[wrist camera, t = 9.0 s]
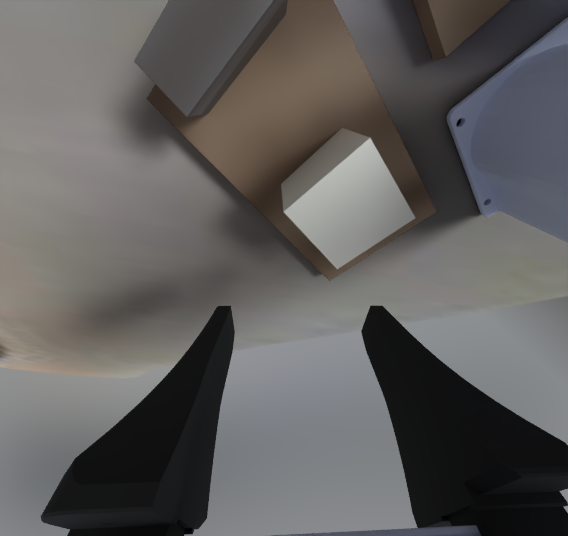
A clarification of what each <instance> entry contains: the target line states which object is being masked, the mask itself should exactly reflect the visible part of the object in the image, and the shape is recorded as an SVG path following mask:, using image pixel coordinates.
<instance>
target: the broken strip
mask: <svg viewBox="0 0 568 536" xmlns="http://www.w3.org/2000/svg"><path fill="white" fill-rule="evenodd" d="M412 1H413V4H414V7H415V10H416V13H417V16H418V19H419V21H420V24H421V27H422V30H423V33H424V36H425V38H426V41H427V44H428V47H429V50H430V53H431V56H432V58H433V61H434V60H437V59H441V58H445V57H447V56H448V55H449V54H450V53H451V52H452V51H453V50H455V49H456V48H457V47H458V46H459V45H460V44H461V43H463V42H464V41H465V40H466V39H467V38H468V37H469V36H471V35H472V34H473V33H474V32H475V31H476V30H477V29H478V28H480V27H481V26H482V25H483V24H484V23H485V22H486V21H488V20H489V19H490V18H491V17H492V16H493V15H494V14H495V13H497V12H498V11H499V10H500V9H501V8H502V7H503V6H505V5H506V4H507V3H508V2H509V1H510V0H412Z"/></svg>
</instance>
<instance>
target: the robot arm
mask: <svg viewBox="0 0 568 536" xmlns="http://www.w3.org/2000/svg"><path fill="white" fill-rule="evenodd" d="M460 118H461V122H460V124H459V125H458V126H456V123H457V121H458V120H459V119H460ZM447 123H448V126H449V128H450V131H451V134H452V137H453V139H454V142H455V145H456V147H457V150H458V153H459V156H460V158H461V161H462V164H463V166H464V169H465V172H466V175H467V177H468V180H469V183H470V185H471V188H472V191H473V194H474V196H475V199H476V202H477V205H478V207H479V210H480V213H481V214H482V215H483V216H486V217H488V216H491V215H493V214H495V213H496V212H498V211H502V212H504V213H506V214H508V215H511V216H513V217H515V218H517V219H519V220H521V221H523V222H525V223H527V224H530V225H532V226H534V227H536V228H538V229H540V230H542V231H544V232H547V233H549V234H551V235H553V236H555V237H557V238H559V239H561V240H563V241H566V242H568V17H567V18H566V19H564V20H563V21H562V22H561V23H559V24H558V25H557V26H556V27H554V28H553V29H552V30H551V31H549V32H548V33H547V34H545V35H544V36H543V37H542V38H540V39H539V40H538V41H537V42H535V43H534V44H533V45H532V46H530V47H529V48H528V49H527V50H525V51H524V52H523V53H521V54H520V55H519V56H518V57H516V58H515V59H514V60H513V61H511V62H510V63H509V64H508V65H506V66H505V67H504V68H503V69H501V70H500V71H499V72H497V73H496V74H495V75H494V76H492V77H491V78H490V79H489V80H487V81H486V82H485V83H484V84H482V85H481V86H480V87H479V88H477V89H476V90H475V91H473V92H472V93H471V94H470V95H468V96H467V97H466V98H465V99H463V100H462V101H461V102H460V103H458V104H457V105H456V106H454V107H453V108H452V109H451V110H450V111H449V113H448V115H447ZM486 200H487V201H486ZM485 201H486V202H485ZM484 202H485V203H484ZM361 332H362V336H363V340H364V344H365V348H366V351H367V354H368V356H369V359H370V362H371V364H372V367H373V369H374V372H375V374H376V377H377V379H378V382H379V385H380V387H381V390H382V392H383V395H384V398H385V401H386V404H387V407H388V411H389V414H390V418H391V421H392V424H393V428H394V432H395V436H396V440H397V444H398V447H399V451H400V456H401V460H402V464H403V468H404V473H405V478H406V482H407V487H408V492H409V497H410V501H411V507H412V512H413V515H414V518H415V521H416V524H417V527H418V528H411V529H392V530H372V531H352V532H332V533H312V534H294V535H293V534H292V535H273V536H568V513H567V512H566V510H565V509H564V507H563V506H567V505H568V503H567V501H566V500H565V499H564V497H563V496H562V494H561V493H560V492H559V491H561V490H564V489H568V445H567V444H566V443H565V442H563V441H561V440H560V439H558V438H556V437H554V436H553V435H551V434H549V433H547V432H546V431H544V430H542V429H540V428H539V427H537V426H535V425H534V424H532V423H530V422H528V421H526V420H525V419H523V418H522V417H520V416H518V415H516V414H515V413H514V412H512V411H510V410H509V409H507V408H505V407H504V406H502V405H501V404H499V403H498V402H496V401H495V400H493V399H492V398H490V397H489V396H487V395H486V394H484V393H483V392H481V391H480V390H479V389H477V388H476V387H474V386H473V385H471V384H470V383H469V382H467V381H466V380H464V379H463V378H462V377H460V376H459V375H458V374H457V373H455V372H454V371H453V370H452V369H450V368H449V367H448V366H447V365H445V364H444V363H443V362H442V361H440V360H439V359H438V358H437V357H436V356H435V355H433V354H432V353H431V352H430V351H429V350H428V349H426V348H425V347H424V346H423V345H422V344H421V343H420V342H419V341H417V339H416V338H414V337H413V336H412V335H411V334H410V333H409V332H408V331H407V330H406V329H405V328H404V327H403V326H402V325H401V324H400V323H399V322H398V321H397V320H396V319H395V318H394V317H393V316H392V315H391V314H390V313H389V312H388V311H387V310H386V309H385V308H384V307H383V306H370V309H369V312H368V314H367V317H366V320H365V323H364V325H363V328H362V331H361ZM234 333H235V331H234V325H233V318H232V311H231V306H218V307H217V308H216V310H215V311H214V313H213V315H212V316H211V318H210V320H209V321H208V323H207V324H206V326H205V327H204V329H203V330H202V332H201V333H200V334H199V336H198V337H197V339H196V340H195V341H194V343H193V344H192V345H191V347H190V348H189V349H188V351H187V352H186V353H185V354H184V356H183V357H182V358H181V359H180V361H179V362H178V363H177V364H176V365H175V367H174V368H173V369H172V370H171V371H170V372H169V373H168V375H167V376H166V377H165V378H164V379H163V380H162V381H161V382H160V383H159V384H158V385H157V386H156V387H155V388H154V389H153V390H152V391H151V392H150V393H149V394H148V395H147V396H146V397H145V398H144V399H143V400H142V401H141V402H140V403H139V404H138V405H137V406H136V407H135V408H134V409H133V410H131V411H130V412H129V413H128V414H127V415H126V416H125V417H124V418H123V419H122V420H120V421H119V422H118V423H117V424H116V425H115V426H114V427H113V428H111V429H110V430H109V431H108V432H107V433H105V434H104V435H103V436H102V437H101V438H99V439H98V440H97V441H96V442H95V443H93V444H92V445H91V446H90V447H89V448H87V449H86V450H85V451H84V452H82V453H81V454H80V455H79V456H78V457H77V458H75V460H74V461H73V463H72V464H71V466H70V467H69V469H68V470H67V472H66V473H65V475H64V476H63V478H62V480H61V482H60V483H59V485H58V487H57V489H56V490H55V492H54V494H53V496H52V497H51V499H50V501H49V503H48V505H47V506H46V509H45V510H44V512H43V514H42V516H41V520H42V521H43V522H44V523H47V524H50V525H54V526H59V527H62V528H67V529H70V531H69V533H68V535H67V536H184V534H193V532H194V529H198V528H199V527H200V526H201V525H202V524H203V522H204V521H205V520H206V518H207V511H208V502H209V492H210V483H211V474H212V465H213V457H214V449H215V441H216V433H217V426H218V419H219V411H220V405H221V400H222V395H223V390H224V386H225V382H226V377H227V373H228V369H229V364H230V360H231V355H232V350H233V342H234Z"/></svg>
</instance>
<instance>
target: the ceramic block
mask: <svg viewBox="0 0 568 536" xmlns="http://www.w3.org/2000/svg"><path fill="white" fill-rule="evenodd" d="M281 189H282V200H283V212H284V213H285V214H286V215H287V216H288V217H289V218H290V219H291V220H292V221H293V223H294V224H295V225H296V226H297V227H298V228H299V229H300V230H301V231H302V232H303V233H304V234H305V235H306V236H307V238H308V239H309V240H310V241H311V242H312V243H313V244H314V245H315V246H316V247H317V248H318V249H319V250H320V251H321V253H322V254H323V255H324V256H325V257H326V258H327V259H328V260H329V261H330V262H331V263H332V264H333V265H334V266H335V268H336V269H339V268H340V267H342V266H343V265H345V264H346V263H348V262H349V261H351V260H352V259H354V258H355V257H357V256H358V255H360V254H361V253H363V252H365V251H366V250H368V249H369V248H371V247H372V246H374V245H375V244H377V243H378V242H380V241H381V240H383V239H384V238H386V237H387V236H389V235H390V234H392V233H394V232H395V231H397V230H398V229H400V228H401V227H403V226H404V225H406V224H407V223H409V222H410V221H412V220H413V219H415V216H414V214H413V213H412V211H411V209H410V207H409V206H408V204H407V202H406V200H405V198H404V197H403V195H402V193H401V191H400V190H399V188H398V186H397V184H396V183H395V181H394V179H393V177H392V175H391V174H390V172H389V170H388V168H387V167H386V165H385V163H384V161H383V159H382V158H381V156H380V154H379V152H378V151H377V149H376V147H375V145H374V144H373V142H372V140H371V138H370V137H367V136H364V135H361V134H358V133H356V132H353V131H350V130H347V129H344V128H341V129H340V130H339V131H338V132H337V133H336V134H335V135H334V136H333V137H332V138H330V139H329V140H328V141H327V142H326V143H325V144H324V145H323V146H322V147H321V148H320V149H318V150H317V151H316V152H315V153H314V154H313V155H312V156H311V157H310V158H309V159H308V160H307V161H305V162H304V163H303V164H302V165H301V166H300V167H299V168H298V169H297V170H296V171H295V172H294V173H292V174H291V175H290V176H289V177H288V178H287V179H286V180H285V181H284V182H283V183H282V184H281Z"/></svg>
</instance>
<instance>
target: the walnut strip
mask: <svg viewBox="0 0 568 536" xmlns="http://www.w3.org/2000/svg"><path fill="white" fill-rule="evenodd" d="M134 62H135V63H136V64H137V65H138V66H139V67H140V68H141V69H142V70H143V71H144V72H145V73H146V75H147V76H148V77H149V78H150V79H151V80H152V81H153V82H154V83H155V84H156V85H155V86H154V88H153V89H152V91H151V93H150V94H149V96H148V97H147V99H148V100H149V101H150V102H151V103H152V104H153V105H154V106H155V107H156V108H157V109H158V110H159V111H160V112H161V113H162V114H163V115H164V116H165V117H166V118H167V119H168V120H169V121H170V122H171V123H172V124H173V125H174V126H175V127H176V128H177V129H178V130H179V131H180V132H181V133H182V134H183V135H184V136H185V137H186V138H187V139H188V140H189V141H190V142H191V143H192V144H193V145H194V146H195V147H196V148H197V149H198V150H199V151H200V152H201V153H202V154H203V155H204V156H205V157H206V158H207V159H208V160H209V161H210V162H211V163H212V164H213V165H214V166H215V167H216V168H217V169H218V170H219V171H220V172H221V173H222V174H223V175H224V176H225V177H226V178H227V179H228V180H229V181H230V182H231V183H232V184H233V185H234V186H235V187H236V188H237V189H238V190H239V191H240V192H241V193H242V194H243V195H244V196H245V197H246V198H247V199H248V200H249V201H250V202H251V203H252V204H253V205H254V206H255V207H256V208H257V209H258V210H259V211H260V212H261V213H262V214H263V215H264V216H265V217H266V218H267V219H268V220H269V221H270V222H271V223H272V224H273V225H274V226H275V227H276V228H277V229H278V230H279V231H280V232H281V233H282V234H283V235H284V236H285V237H286V238H287V239H288V240H289V241H290V242H291V243H292V244H293V245H294V246H295V247H296V248H297V249H298V250H299V251H300V252H301V253H302V254H303V255H304V256H305V257H306V258H307V259H308V260H309V261H310V262H311V263H312V264H313V265H314V266H315V267H316V268H317V269H318V270H319V271H320V272H321V273H322V274H323V275H324V276H325V277H326V278H327V279H328V280H329V281H330V280H331V279H333V278H334V277H336V276H338V275H339V274H341V273H342V272H344V271H345V270H347V269H348V268H350V267H352V266H353V265H355V264H356V263H358V262H359V261H361V260H362V259H364V258H366V257H367V256H369V255H370V254H372V253H373V252H375V251H377V250H378V249H380V248H381V247H383V246H384V245H386V244H387V243H389V242H391V241H392V240H394V239H395V238H397V237H398V236H400V235H401V234H403V233H405V232H406V231H408V230H409V229H411V228H412V227H414V226H415V225H417V224H419V223H420V222H422V221H423V220H425V219H426V218H428V217H429V216H431V215H433V214H434V213H436V212H437V210H436V208H435V206H434V204H433V202H432V200H431V198H430V196H429V194H428V192H427V190H426V188H425V186H424V184H423V182H422V180H421V178H420V176H419V174H418V172H417V170H416V168H415V166H414V164H413V162H412V160H411V158H410V156H409V154H408V152H407V149H406V147H405V145H404V143H403V141H402V139H401V137H400V135H399V133H398V131H397V129H396V127H395V125H394V123H393V121H392V119H391V117H390V115H389V113H388V111H387V109H386V107H385V105H384V103H383V101H382V99H381V97H380V95H379V93H378V91H377V88H376V86H375V84H374V82H373V80H372V78H371V76H370V74H369V72H368V70H367V68H366V66H365V64H364V62H363V60H362V58H361V56H360V54H359V52H358V50H357V48H356V46H355V44H354V42H353V40H352V38H351V36H350V34H349V32H348V29H347V27H346V25H345V23H344V21H343V19H342V17H341V15H340V13H339V11H338V9H337V7H336V5H335V3H334V1H333V0H169V1H168V3H167V5H166V6H165V8H164V10H163V12H162V13H161V15H160V17H159V19H158V20H157V22H156V24H155V26H154V27H153V29H152V31H151V33H150V34H149V36H148V38H147V40H146V41H145V43H144V45H143V47H142V48H141V50H140V52H139V54H138V55H137V57H136V59H135V61H134ZM341 128H344V129H347V130H350V131H353V132H356V133H358V134H361V135H364V136H367V137H370V138H371V140H372V142H373V144H374V145H375V147H376V149H377V151H378V152H379V154H380V156H381V158H382V159H383V161H384V163H385V165H386V167H387V168H388V170H389V172H390V174H391V175H392V177H393V179H394V181H395V183H396V184H397V186H398V188H399V190H400V191H401V193H402V195H403V197H404V198H405V200H406V202H407V204H408V206H409V207H410V209H411V211H412V213H413V214H414V216H415V219H413V220H412V221H410V222H409V223H407V224H406V225H404V226H403V227H401V228H400V229H398V230H397V231H395V232H394V233H392V234H390V235H389V236H387V237H386V238H384V239H383V240H381V241H380V242H378V243H377V244H375V245H374V246H372V247H371V248H369V249H368V250H366V251H365V252H363V253H361V254H360V255H358V256H357V257H355V258H354V259H352V260H351V261H349V262H348V263H346V264H345V265H343V266H342V267H340V268H339V269H336V268H335V266H334V265H333V264H332V263H331V262H330V261H329V260H328V259H327V258H326V257H325V256H324V255H323V254H322V253H321V251H320V250H319V249H318V248H317V247H316V246H315V245H314V244H313V243H312V242H311V241H310V240H309V239H308V238H307V236H306V235H305V234H304V233H303V232H302V231H301V230H300V229H299V228H298V227H297V226H296V225H295V224H294V223H293V221H292V220H291V219H290V218H289V217H288V216H287V215H286V214H285V213H284V212H283V200H282V189H281V184H282V183H283V182H284V181H285V180H286V179H287V178H288V177H289V176H290V175H291V174H292V173H294V172H295V171H296V170H297V169H298V168H299V167H300V166H301V165H302V164H303V163H304V162H305V161H307V160H308V159H309V158H310V157H311V156H312V155H313V154H314V153H315V152H316V151H317V150H318V149H320V148H321V147H322V146H323V145H324V144H325V143H326V142H327V141H328V140H329V139H330V138H332V137H333V136H334V135H335V134H336V133H337V132H338V131H339V130H340V129H341Z"/></svg>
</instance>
